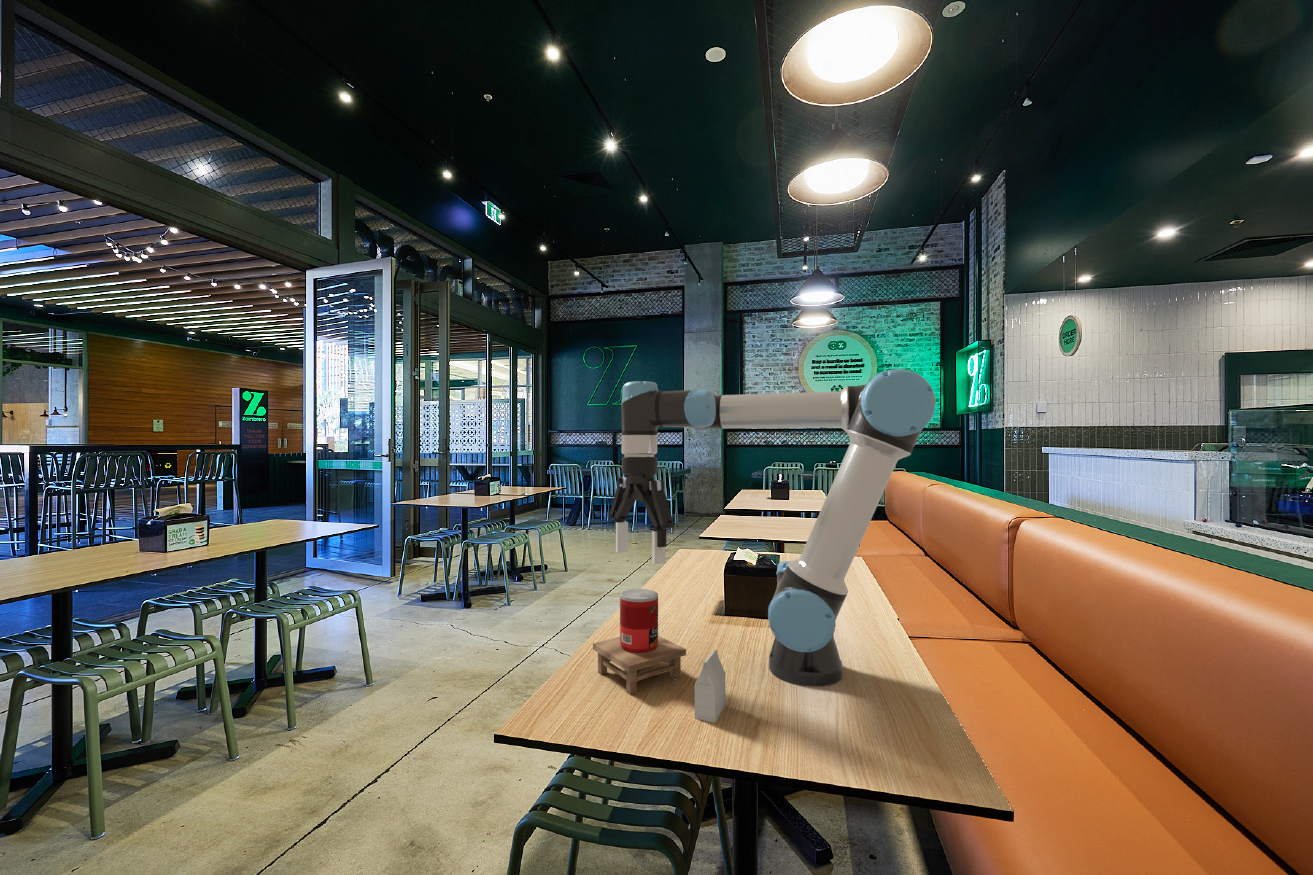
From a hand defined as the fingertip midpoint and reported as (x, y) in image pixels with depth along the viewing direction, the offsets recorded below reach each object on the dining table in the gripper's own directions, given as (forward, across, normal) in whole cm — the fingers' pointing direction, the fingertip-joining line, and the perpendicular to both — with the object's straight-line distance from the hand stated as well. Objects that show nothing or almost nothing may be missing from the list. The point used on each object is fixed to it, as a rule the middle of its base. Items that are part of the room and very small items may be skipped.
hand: (639, 557), depth 111 cm
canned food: (+19, 0, 0) cm, 19 cm away
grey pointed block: (+25, -20, -2) cm, 32 cm away
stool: (+24, 0, 0) cm, 25 cm away
